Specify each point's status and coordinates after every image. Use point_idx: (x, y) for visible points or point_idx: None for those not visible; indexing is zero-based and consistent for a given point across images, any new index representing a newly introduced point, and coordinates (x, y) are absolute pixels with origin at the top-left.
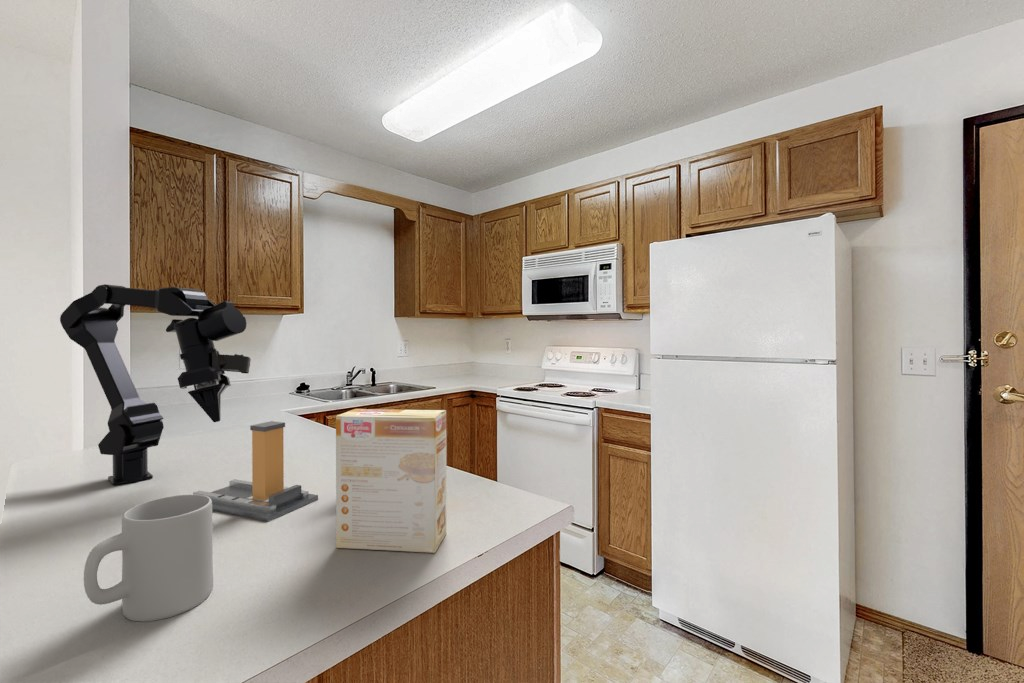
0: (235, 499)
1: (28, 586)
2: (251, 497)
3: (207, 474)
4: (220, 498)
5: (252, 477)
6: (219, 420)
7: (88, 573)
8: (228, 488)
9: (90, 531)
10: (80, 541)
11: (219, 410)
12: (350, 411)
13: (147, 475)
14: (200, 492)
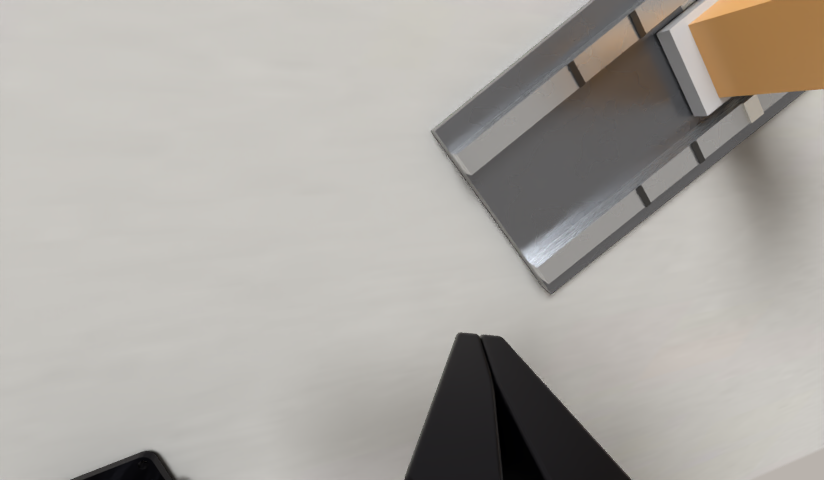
0: (705, 151)
1: (803, 440)
2: (712, 100)
3: (165, 267)
4: (656, 196)
5: (800, 90)
6: (498, 338)
7: None
8: (495, 175)
9: (610, 445)
10: (659, 441)
11: (535, 410)
12: None
13: (130, 474)
14: (561, 261)
